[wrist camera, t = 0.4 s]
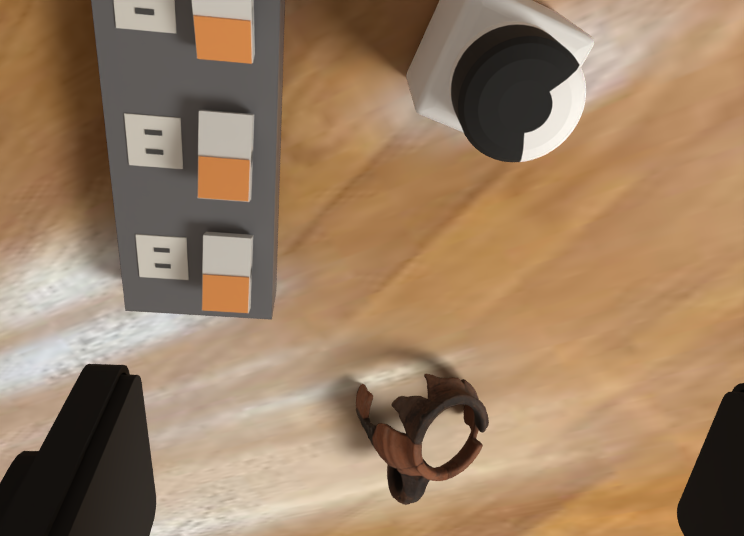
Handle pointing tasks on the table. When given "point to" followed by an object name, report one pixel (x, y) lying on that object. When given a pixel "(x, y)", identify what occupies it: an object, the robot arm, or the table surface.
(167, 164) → the power strip
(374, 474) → the table surface
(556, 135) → the medicine bottle
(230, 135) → the rocker
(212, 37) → the rocker
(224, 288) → the rocker
